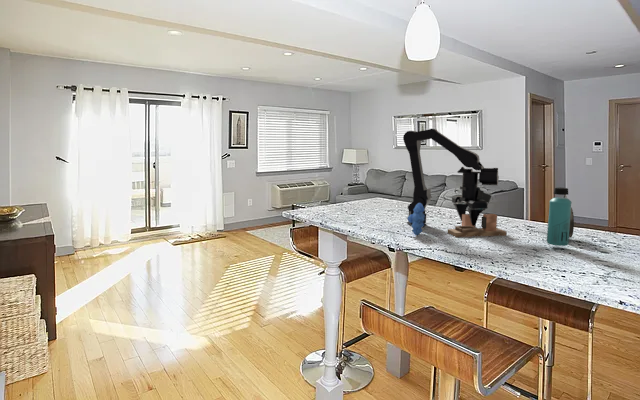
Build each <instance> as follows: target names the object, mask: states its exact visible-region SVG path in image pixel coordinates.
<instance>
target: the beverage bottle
mask: <svg viewBox="0 0 640 400" xmlns="http://www.w3.org/2000/svg"><path fill="white" fill-rule="evenodd" d="M553 195H559V196H564V195H566V196H568V195H569V188H568V187H554V189H553ZM571 208H572V201H571V200H570V199H569V198H568V197H567V198H566V197H565V198H564V197H558V196H557V197H552V198H551V199H550V200H549V208H548V219H547V228H546V230H547V233H546V242H547V244H548V245H552V246H559V247H566V246H568V245H569V242H570V238H571V237H570V231H569V229H570V217H571Z"/></svg>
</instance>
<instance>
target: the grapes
mask: <svg viewBox="0 0 640 400" xmlns="http://www.w3.org/2000/svg"><path fill="white" fill-rule="evenodd" d="M424 210H425V211H426V208H425V209H424V207H423V205H422V204H421V203H418V204H417V205H416V206H415V208H414V209H413V211H414V213H413V214H411V215H409V214H408V216H407V217H406V219H407V222H408V221H409V222H410V223H413V224H412V225H410V227H411V228H412V230H411V231H412V233H413V235H415V236H418V235H420V234H422V233H423V227H424V223H423V221H424V220H425V219H424V217H425V215H424V214H423V213H422V212H423V211H424Z"/></svg>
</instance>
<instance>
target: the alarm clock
mask: <svg viewBox="0 0 640 400" xmlns="http://www.w3.org/2000/svg"><path fill="white" fill-rule="evenodd" d="M563 198H568V195H563ZM574 225H575V217H574V210H573V207H571V217H570V229H569V231H570V237H569V238H572V237H573V236H574V230H575V229H574V228H575V226H574Z"/></svg>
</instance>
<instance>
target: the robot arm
mask: <svg viewBox="0 0 640 400" xmlns="http://www.w3.org/2000/svg"><path fill="white" fill-rule="evenodd" d="M429 140H432V141H434V142H435V143H437V144H438V145H440V146H441V147H442V148H444V149H445V150H446V151H448V152H449V153H451V154H453V155H454V156H455V157H456V158H457V159H458V161H459V162H460V163H461V164H462V165H463V166H461V167H460V168H459V170H458V171H457V173H458V174H462V179H461V180H462V184H461V186H459V190H461V195H453V196H452V197H451V203H452V204H453V206H454V207H455V210H456V212H457V215H458V216H459V219H460V221H461V222H462V214H467V210H468V214H469V216H470V220H471V224H472V226H475V224H476V225H477V221H478V219H479V218H480V217H479V216H480V214H481V213H482V212H483V211H485V210H486V209H488V205H489V203H491V202H490V201H491V199H492V195H491V194H488V193H487V192H486V193H485V192H484V190H482V189H481V188H480V187H479V186H478V184H479V183H480V184H481V185H482V186H498V185H499V179H500V178H499V177H500V176H499V167H484V165H483V164H482V163H481V162H480V160H481V159H480V155H478V153H476V152H474V151H472V150H469V149H466V148H464V147H462V146H460V145H459V144H457V143H456V142H454V141H453V140H452V139H450V138H449V137H448V136H446V135H444V134H443V133H441V132H440V131H438V130H437V129H436V128H429V129H425V130H420V131H416V130H407V131H406V132H405V133H404V134H403V143H404V145H405V148H406V150H407V152H408V153H409V160H410V165H411V166H410V167H411V173H412V178H413V179H412V180H413V186H414V187H413V194H412V202H410V203H409V205H407V210H408V216H409V215H411V214H413V213H414V211H413V209H414V208H415V206H416V205H417V204H418V203H421V204H422V205H423V207H424V209H425V210H424V211H423V212H422V213H423V214H424V215H425V217H424V219H425V220H424V221H423V223H424V226H427V213H426V208H427V207H428V205H430V203H431V201H432V198H433V196H432V194H431V188H427V186H426V183H425V177H424V169H423V164H422V158H421V145H422V141H429ZM465 167H466V168H465ZM406 224H408V225H409V226H411V225H412V224H413V223H410V222H409V221H408V220H407V222H406ZM424 226H423V227H424Z"/></svg>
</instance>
